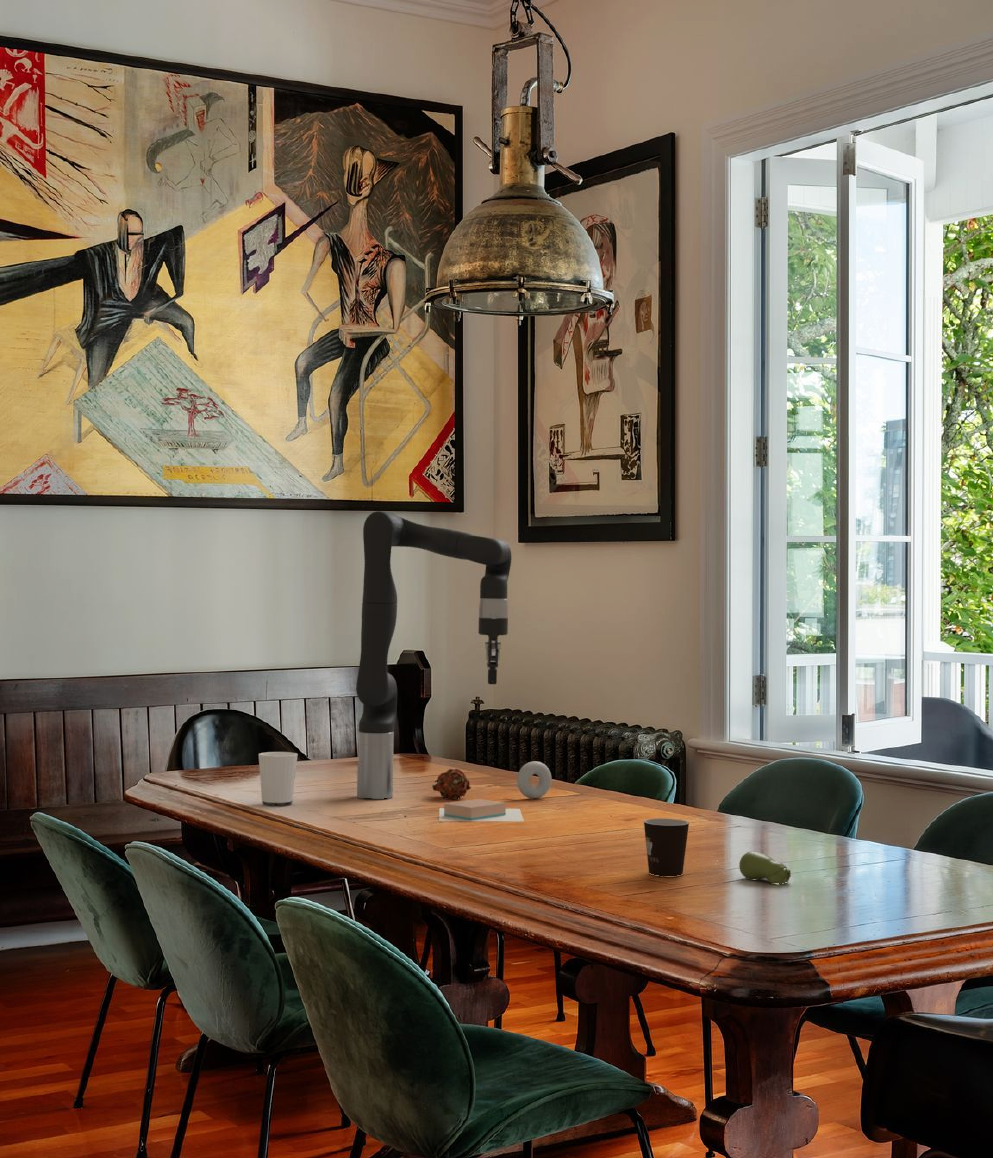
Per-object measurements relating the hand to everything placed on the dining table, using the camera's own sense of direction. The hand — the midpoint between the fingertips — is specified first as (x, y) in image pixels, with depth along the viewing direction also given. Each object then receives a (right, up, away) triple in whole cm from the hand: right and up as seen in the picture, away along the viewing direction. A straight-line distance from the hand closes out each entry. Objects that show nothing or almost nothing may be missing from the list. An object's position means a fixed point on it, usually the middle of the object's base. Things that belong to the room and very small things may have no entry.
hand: (492, 684), depth 349 cm
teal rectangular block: (0, -29, -17) cm, 33 cm away
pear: (+52, -30, -93) cm, 110 cm away
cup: (-54, -30, -5) cm, 62 cm away
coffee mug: (+34, -30, -86) cm, 97 cm away
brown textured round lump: (-11, -31, +11) cm, 35 cm away
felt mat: (-3, -31, -19) cm, 36 cm away
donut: (+11, -32, +12) cm, 35 cm away
